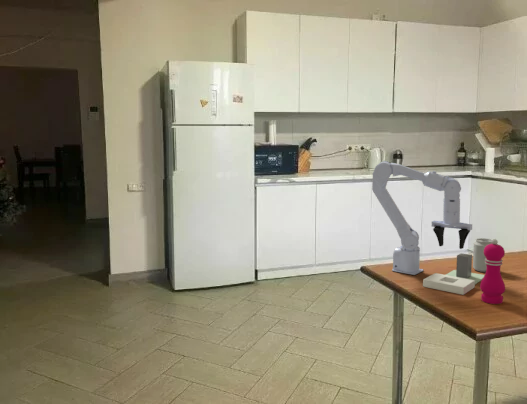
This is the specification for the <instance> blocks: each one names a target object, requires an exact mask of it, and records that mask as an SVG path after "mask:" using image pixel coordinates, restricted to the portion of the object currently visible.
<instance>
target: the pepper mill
mask: <svg viewBox="0 0 527 404" xmlns="http://www.w3.org/2000/svg"><path fill="white" fill-rule="evenodd" d="M491 240H492V241H491V243H492V244H489V245H487V246H486V247H485V248H484V255H485V257H486V259H485V263H486V267H487V268H486V272H484V274H483V275H484V277H483V279H482V280H481V281H480V284H479V289H480V291H481V292H482V293H481V295H480V299H481V301H482V302H483V303H486V304H491V305H499V304H502V303H503V302H504V295H503V294H504V292H506V284H505V282H504V279H503V278H502V277H503V276H502V274H501V266H503V258H504V257H505V254H506V253H505V252H506V251H505V249H504V247H503V245H500V244H498V243H499V241H498V240H497V239H496V238H495V239H491Z"/></svg>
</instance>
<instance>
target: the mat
mask: <svg viewBox="0 0 527 404" xmlns="http://www.w3.org/2000/svg"><path fill="white" fill-rule="evenodd" d="M445 275H449V276H454V277H456V269H453V270H451V271H449V272H448V273H445ZM484 275H485V274H480V273H475V272H471V277H469V278H468V279H470V280H475V285H477V284H478V283H479V282H480V283H481V281H482V279H483V277H484ZM459 278H461V277H459ZM465 279H466V278H465Z"/></svg>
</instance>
